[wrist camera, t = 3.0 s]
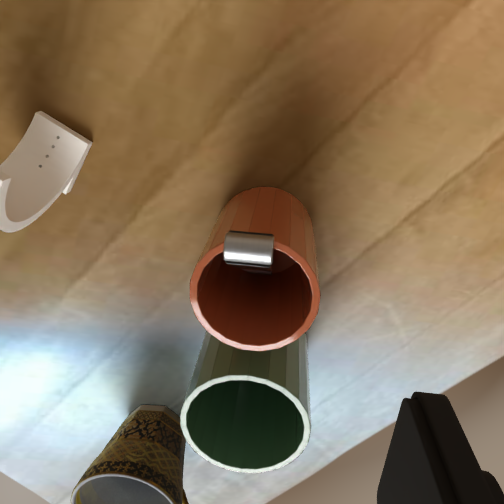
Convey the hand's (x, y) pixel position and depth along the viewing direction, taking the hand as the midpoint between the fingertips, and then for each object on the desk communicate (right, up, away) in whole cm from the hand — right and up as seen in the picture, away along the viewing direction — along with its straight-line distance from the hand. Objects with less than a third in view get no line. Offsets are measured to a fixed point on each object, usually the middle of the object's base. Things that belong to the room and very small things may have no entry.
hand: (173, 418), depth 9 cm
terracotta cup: (+3, +5, +28) cm, 29 cm away
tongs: (+3, +6, +27) cm, 28 cm away
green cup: (+2, -5, +33) cm, 33 cm away
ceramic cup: (-8, -17, +39) cm, 43 cm away
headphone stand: (-15, +11, +27) cm, 33 cm away
